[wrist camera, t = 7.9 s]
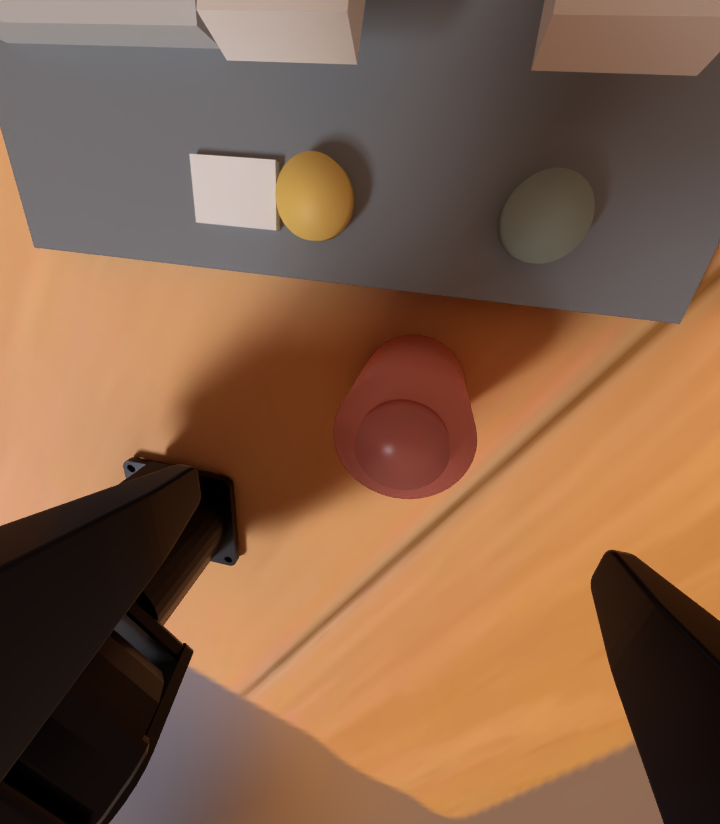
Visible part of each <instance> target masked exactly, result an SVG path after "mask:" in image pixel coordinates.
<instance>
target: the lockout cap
mask: <svg viewBox="0 0 720 824" xmlns="http://www.w3.org/2000/svg"><path fill="white" fill-rule="evenodd" d="M334 442H335V447H336V450H337V453H338V456H339V458H340V460H341V462H342V463H343V465H344V467H345V468H346V469H347V470H348V472H349V473H350V474H351V475H352V476H353V477H354V478H355V479H356V480H357V481H359V482H360V483H361V484H363V485H364V486H366V487H367V488H369V489H371V490H373V491H375V492H377V493H380V494H383V495H385V496H389V497H394V498H401V499H417V498H424V497H429V496H432V495H435V494H438V493H440V492H442V491H444V490H446V489H448V488H450V487H451V486H452V485H454V484H455V483H456V482H458V481H459V480H460V479H461V478H462V477H463V476H464V474H465V473H466V471H467V470H468V469H469V467H470V465H471V463H472V461H473V458H474V456H475V452H476V447H477V432H476V426H475V422H474V418H473V413H472V409H471V405H470V401H469V396H468V392H467V388H466V384H465V379H464V375H463V371H462V368H461V366H460V363H459V361H458V360H457V358H456V357H455V355H454V354H453V353H452V352H451V351H450V350H449V349H448V348H447V347H446V346H444V345H443V344H442V343H440V342H438V341H436V340H434V339H431V338H428V337H424V336H418V335H407V336H401V337H397V338H394V339H392V340H390V341H388V342H386V343H384V344H383V345H381V346H380V347H379V348H378V349H377V350H375V352H374V353H373V354H372V355H371V357H370V358H369V360H368V361H367V363H366V365H365V366H364V368H363V370H362V371H361V373H360V375H359V376H358V378H357V379H356V381H355V383H354V384H353V386H352V388H351V389H350V391H349V393H348V394H347V396H346V398H345V399H344V401H343V403H342V404H341V406H340V408H339V410H338V412H337V415H336V419H335V423H334Z"/></svg>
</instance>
